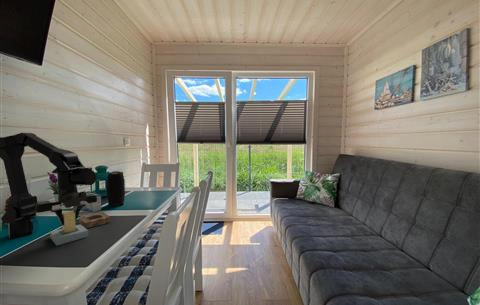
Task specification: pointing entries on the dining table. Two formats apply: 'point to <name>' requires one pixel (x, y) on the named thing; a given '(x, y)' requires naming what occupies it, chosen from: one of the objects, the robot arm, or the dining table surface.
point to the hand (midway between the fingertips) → (68, 223)
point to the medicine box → (94, 204)
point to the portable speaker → (115, 188)
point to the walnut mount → (94, 220)
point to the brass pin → (69, 222)
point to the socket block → (68, 235)
